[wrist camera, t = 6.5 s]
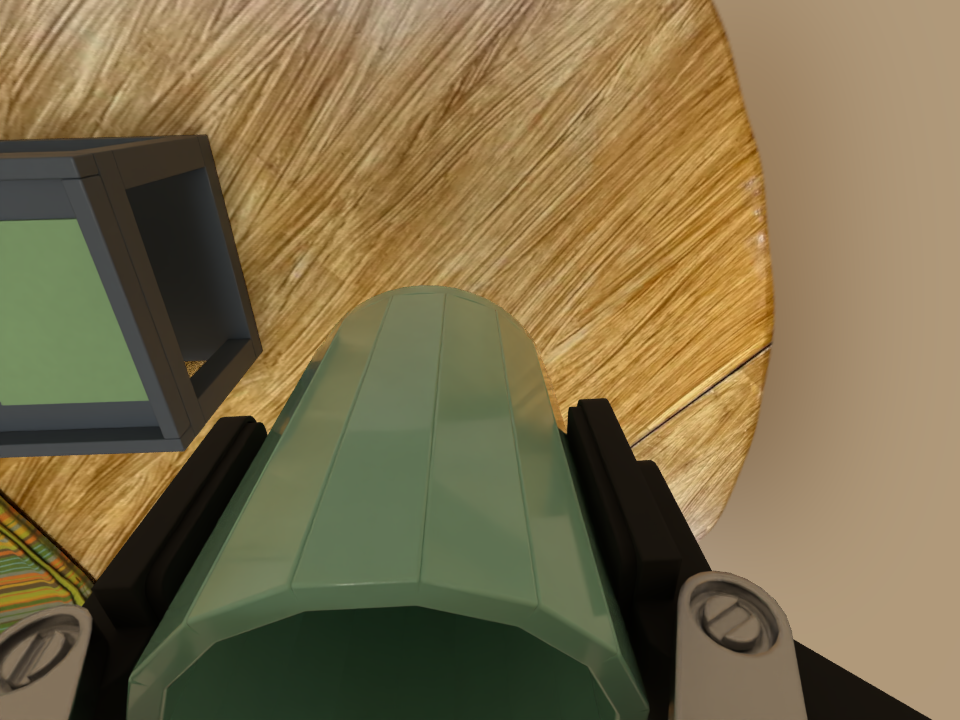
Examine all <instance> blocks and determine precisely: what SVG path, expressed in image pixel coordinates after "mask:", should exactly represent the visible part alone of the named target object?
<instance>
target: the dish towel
mask: <svg viewBox="0 0 960 720" xmlns="http://www.w3.org/2000/svg"><path fill="white" fill-rule="evenodd" d="M93 586H94V584H93V583H92V582H91V581H90V579H89V578H88V577H87V576H86V575H85V574H84V573H83V572H82V571H81V570H80V569H79V568H78V567H77V566H76V565H74V564H73V563H72V562H71V561H70V560H69V559H68V558H67V557H66V556H65V555H64V554H63V553H62V552H61V551H60V550H59V549H58V548H57V547H56V546H55V545H54V544H52V543H51V542H50V541H49V540H48V539H47V538H46V537H45V536H44V535H43V534H42V533H40V532H39V531H38V530H37V529H36V528H35V527H34V526H33V525H32V524H31V523H30V522H29V521H28V520H26V519H25V518H24V517H23V516H22V515H20V514H19V513H18V512H17V511H16V510H15V509H14V508H13V507H12V506H11V505H9V504H8V503H7V502H6V501H5V500H4V499H3V498H2V497H1V496H0V634H1V633H2V632H3V631H4V630H6V629H7V628H8V627H10V626H11V625H13V624H15V623H17V622H18V621H20V620H22V619H23V618H25V617H27V616H29V615H31V614H33V613H36V612H38V611H41V610H43V609H46V608H49V607H54V606H58V605H62V604H74V605H80V606H82V605H83V604H84V602H85V601H86V600H87V598H88V597H89V596H90V594H91V593H92V590H91V588H92V587H93Z"/></svg>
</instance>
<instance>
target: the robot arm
mask: <svg viewBox="0 0 960 720" xmlns="http://www.w3.org/2000/svg"><path fill="white" fill-rule="evenodd" d="M267 436H268V435H267V432H266V429H265V426H264V425H263V423H261V422H257V423H256V420H255V419H254V418H253V417H252V416H236V417H222V418H220V419H219V420H218V421H217V422H216V424H215V425H214V426H213V428H212V429H211V430H210V432H209V433H208V434H207V436H206V437H205V438H204V440H203V441H202V442H201V444H200V445H199V446H198V448H197V449H196V450H195V451H194V453H193V454H192V455H191V457H190V458H189V459H188V461H187V462H186V463H185V465H184V466H183V467H182V469H181V470H180V471H179V473H178V474H177V475H176V477H175V478H174V479H173V481H172V482H171V483H170V485H169V486H168V487H167V489H166V490H165V491H164V493H163V494H162V495H161V497H160V498H159V499H158V501H157V502H156V503H155V505H154V506H153V507H152V509H151V510H150V511H149V513H148V514H147V515H146V517H145V518H144V519H143V521H142V522H141V523H140V525H139V526H138V527H137V529H136V530H135V531H134V532H133V534H132V535H131V536H130V538H129V539H128V540H127V542H126V543H125V544H124V546H123V547H122V548H121V550H120V551H119V552H118V554H117V555H116V556H115V558H114V559H113V560H112V562H111V563H110V564H109V566H108V567H107V568H106V570H105V571H104V572H103V574H102V575H101V576H100V578H99V579H98V580H97V582H96V583H95V584H94V586H93V587H92V588H91V590H92V593H91V594H90V596H89V597H88V598H87V600H86V601H85V602H84V604H83V605H82V606H80V605H74V604H62V605H58V606H54V607H49V608H46V609H43V610H41V611H38V612H36V613H33V614H31V615H29V616H27V617H25V618H23V619H22V620H20V621H18V622H17V623H15V624H13V625H11V626H10V627H8V628H7V629H6V630H4V631H3V632H2V633H1V634H0V720H126V707H127V693H128V680H129V677H130V675H131V673H132V671H133V669H134V667H135V666H136V664H137V662H138V660H139V659H140V657H141V655H142V653H143V652H144V650H145V648H146V646H147V645H148V643H149V641H150V639H151V638H152V636H153V634H154V633H155V631H156V629H157V627H158V626H159V624H160V622H161V620H162V619H163V617H164V615H165V613H166V612H167V610H168V608H169V606H170V605H171V603H172V601H173V599H174V598H175V596H176V594H177V592H178V591H179V589H180V587H181V586H182V584H183V582H184V580H185V579H186V577H187V575H188V573H189V572H190V570H191V568H192V566H193V565H194V563H195V561H196V559H197V558H198V556H199V554H200V552H201V551H202V549H203V547H204V545H205V544H206V542H207V540H208V539H209V537H210V535H211V533H212V532H213V530H214V528H215V526H216V525H217V523H218V521H219V519H220V518H221V516H222V514H223V512H224V511H225V509H226V507H227V505H228V504H229V502H230V500H231V498H232V497H233V495H234V493H235V492H236V490H237V488H238V486H239V485H240V483H241V481H242V479H243V478H244V476H245V474H246V472H247V471H248V469H249V467H250V465H251V464H252V462H253V460H254V458H255V457H256V455H257V453H258V451H259V450H260V448H261V446H262V445H263V443H264V441H265V439H266V438H267ZM567 436H568V439H569V443H570V446H571V449H572V453H573V456H574V459H575V463H576V466H577V469H578V473H579V476H580V479H581V482H582V486H583V489H584V492H585V496H586V499H587V502H588V506H589V509H590V512H591V516H592V519H593V522H594V525H595V529H596V532H597V535H598V539H599V542H600V545H601V549H602V552H603V555H604V559H605V562H606V565H607V569H608V572H609V575H610V578H611V582H612V585H613V588H614V592H615V595H616V598H617V601H618V603H619V606H620V609H621V613H622V616H623V619H624V622H625V626H626V629H627V632H628V636H629V639H630V642H631V645H632V649H633V652H634V655H635V659H636V662H637V665H638V669H639V672H640V675H641V678H642V682H643V685H644V688H645V692H646V695H647V698H648V701H649V707H650V712H649V716H648V720H931V719H930V718H928V717H926V716H924V715H923V714H921V713H919V712H918V711H916V710H914V709H912V708H911V707H909V706H907V705H906V704H904V703H902V702H900V701H899V700H897V699H895V698H894V697H892V696H890V695H888V694H886V693H885V692H883V691H881V690H880V689H878V688H876V687H875V686H873V685H871V684H869V683H868V682H866V681H864V680H862V679H861V678H859V677H857V676H855V675H854V674H852V673H850V672H849V671H847V670H845V669H843V668H842V667H840V666H838V665H836V664H835V663H833V662H831V661H830V660H828V659H826V658H825V657H823V656H821V655H819V654H818V653H816V652H814V651H813V650H811V649H809V648H807V647H806V646H804V645H802V644H800V643H799V642H797V641H795V640H794V639H793V636H792V630H791V628H790V625H789V622H788V620H787V616H786V614H785V613H784V612H783V610H782V609H781V607H780V606H779V605H778V603H777V602H776V600H774V599H773V598H772V597H771V596H770V595H769V594H768V593H767V592H765V590H763V589H762V588H761V587H759V586H757V585H756V584H754V583H752V582H751V581H749V580H747V579H745V578H743V577H740V576H737V575H734V574H732V573H727V572H720V571H712V570H711V568H710V566H709V564H708V562H707V560H706V559H705V557H704V555H703V553H702V551H701V549H700V547H699V545H698V543H697V541H696V539H695V537H694V535H693V533H692V532H691V530H690V528H689V526H688V524H687V522H686V520H685V518H684V516H683V514H682V512H681V510H680V508H679V506H678V505H677V503H676V501H675V499H674V497H673V495H672V493H671V491H670V489H669V487H668V485H667V483H666V481H665V479H664V478H663V476H662V474H661V472H660V470H659V468H658V466H657V465H656V463H655V462H653V461H652V460H643V461H636V459H635V456H634V454H633V452H632V450H631V448H630V446H629V444H628V442H627V439H626V437H625V435H624V433H623V431H622V429H621V427H620V424H619V422H618V420H617V418H616V416H615V414H614V412H613V410H612V407H611V405H610V403H609V401H608V400H607V399H606V398H601V399H580V400H579V401H578V404H577V407H569V410H568V425H567Z"/></svg>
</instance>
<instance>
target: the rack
mask: <svg viewBox="0 0 960 720" xmlns="http://www.w3.org/2000/svg"><path fill="white" fill-rule="evenodd" d="M261 353H262V347H261V343H260V339H259V335H258V331H257V327H256V324H255V320H254V316H253V312H252V308H251V304H250V300H249V296H248V293H247V289H246V285H245V281H244V277H243V273H242V269H241V265H240V261H239V258H238V254H237V250H236V246H235V242H234V238H233V234H232V230H231V226H230V223H229V219H228V215H227V211H226V207H225V203H224V199H223V195H222V192H221V188H220V184H219V180H218V176H217V172H216V168H215V164H214V160H213V157H212V153H211V149H210V145H209V141H208V137H207V135H174V136H136V137H97V138H59V139H21V140H0V458H6V457H35V456H63V455H92V454H120V453H148V452H177V451H185V450H186V448H187V447H188V446H189V445H190V443H191V442H192V441H193V439H194V438H195V437H196V436H197V435H198V433H199V432H200V431H201V430H202V428H203V427H204V426H205V423H207V422H208V420H209V419H210V418H211V416H212V415H213V414H214V413H215V411H216V410H217V409H218V407H219V406H220V405H221V404H222V402H223V401H224V400H225V399H226V397H227V396H228V395H229V393H230V392H231V391H232V390H233V388H234V387H235V386H236V384H237V383H238V382H239V381H240V379H241V378H242V377H243V375H244V374H245V373H246V372H247V370H248V369H249V368H250V367H251V365H252V364H253V363H254V361H255V360H256V359H257V358H258V356H259V355H260V354H261ZM184 361H206V362H205V363H204V364H203V365H202V366H201V367H200V369H199V370H198V371H197V372H196V373H195V374H194V375H193V376H192V377H191V378H190V377H189V374H188V371H187V368H186V366H185V363H184Z"/></svg>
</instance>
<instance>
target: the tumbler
mask: <svg viewBox="0 0 960 720" xmlns="http://www.w3.org/2000/svg"><path fill="white" fill-rule="evenodd" d="M649 712H650V707H649V701H648V698H647V695H646V692H645V688H644V685H643V682H642V678H641V675H640V672H639V669H638V665H637V662H636V659H635V655H634V652H633V649H632V645H631V642H630V639H629V636H628V632H627V629H626V626H625V622H624V619H623V616H622V613H621V609H620V606H619V603H618V601H617V598H616V595H615V592H614V588H613V585H612V582H611V578H610V575H609V572H608V569H607V565H606V562H605V559H604V555H603V552H602V549H601V545H600V542H599V539H598V535H597V532H596V529H595V525H594V522H593V519H592V516H591V512H590V509H589V506H588V502H587V499H586V496H585V492H584V489H583V486H582V482H581V479H580V476H579V473H578V469H577V466H576V463H575V459H574V456H573V453H572V449H571V446H570V443H569V439H568V436H567V432H566V428H565V425H564V422H563V418H562V415H561V412H560V409H559V405H558V402H557V399H556V395H555V392H554V389H553V385H552V382H551V379H550V377H549V375H548V373H547V370H546V368H545V365H544V362H543V359H542V357H541V354H540V351H539V349H538V348H537V346H536V344H535V342H534V340H533V338H532V337H531V336H530V335H529V333H528V332H527V331H526V329H525V328H524V327H523V326H522V325H521V324H520V323H519V322H518V321H517V320H516V319H515V318H514V317H513V316H512V315H511V314H509V313H508V312H507V311H506V310H504V309H503V308H502V307H500V306H498V305H497V304H495V303H493V302H491V301H490V300H488V299H486V298H484V297H481V296H479V295H476V294H474V293H471V292H468V291H464V290H460V289H457V288H451V287H444V286H426V285H420V286H411V287H403V288H399V289H395V290H391V291H387V292H384V293H382V294H379V295H377V296H374V297H372V298H370V299H368V300H366V301H365V302H363V303H361V304H359V305H358V306H356V307H355V308H354V309H352V310H351V311H350V312H348V313H347V314H346V315H345V316H344V317H343V318H342V319H341V320H340V321H339V322H338V323H337V324H336V325H335V326H334V328H333V329H332V330H331V332H330V333H329V334H328V336H327V337H326V339H325V341H324V342H323V344H322V345H321V346H320V347H319V348H318V349H317V351H316V352H315V354H314V356H313V357H312V359H311V361H310V363H309V364H308V366H307V368H306V370H305V371H304V373H303V375H302V377H301V378H300V380H299V382H298V384H297V385H296V387H295V389H294V391H293V392H292V394H291V396H290V398H289V399H288V401H287V403H286V404H285V406H284V408H283V410H282V411H281V413H280V415H279V417H278V418H277V420H276V422H275V424H274V425H273V427H272V429H271V431H270V432H269V434H268V436H267V438H266V439H265V441H264V443H263V445H262V446H261V448H260V450H259V451H258V453H257V455H256V457H255V458H254V460H253V462H252V464H251V465H250V467H249V469H248V471H247V472H246V474H245V476H244V478H243V479H242V481H241V483H240V485H239V486H238V488H237V490H236V492H235V493H234V495H233V497H232V498H231V500H230V502H229V504H228V505H227V507H226V509H225V511H224V512H223V514H222V516H221V518H220V519H219V521H218V523H217V525H216V526H215V528H214V530H213V532H212V533H211V535H210V537H209V539H208V540H207V542H206V544H205V545H204V547H203V549H202V551H201V552H200V554H199V556H198V558H197V559H196V561H195V563H194V565H193V566H192V568H191V570H190V572H189V573H188V575H187V577H186V579H185V580H184V582H183V584H182V586H181V587H180V589H179V591H178V592H177V594H176V596H175V598H174V599H173V601H172V603H171V605H170V606H169V608H168V610H167V612H166V613H165V615H164V617H163V619H162V620H161V622H160V624H159V626H158V627H157V629H156V631H155V633H154V634H153V636H152V638H151V639H150V641H149V643H148V645H147V646H146V648H145V650H144V652H143V653H142V655H141V657H140V659H139V660H138V662H137V664H136V666H135V667H134V669H133V671H132V673H131V675H130V677H129V680H128V693H127V707H126V720H648V716H649Z"/></svg>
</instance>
